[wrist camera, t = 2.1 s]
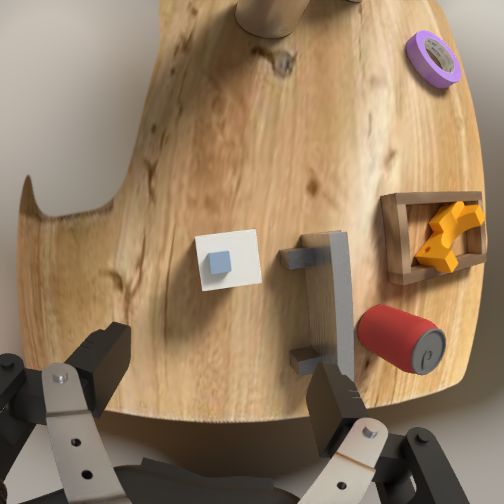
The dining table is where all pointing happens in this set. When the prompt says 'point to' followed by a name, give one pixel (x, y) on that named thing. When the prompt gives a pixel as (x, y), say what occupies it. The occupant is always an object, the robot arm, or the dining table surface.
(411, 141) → the dining table surface
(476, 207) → the pipe clamp
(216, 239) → the white rectangular block
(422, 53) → the masking tape
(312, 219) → the dining table surface
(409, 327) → the beer can
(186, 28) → the dining table surface
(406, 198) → the parts corral
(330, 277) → the rail
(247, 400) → the dining table surface
